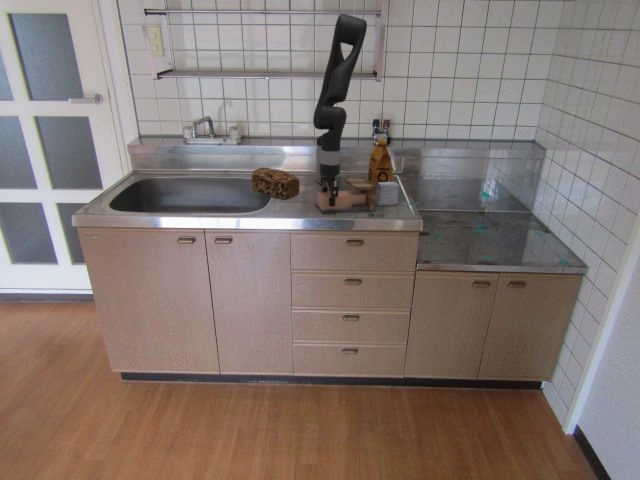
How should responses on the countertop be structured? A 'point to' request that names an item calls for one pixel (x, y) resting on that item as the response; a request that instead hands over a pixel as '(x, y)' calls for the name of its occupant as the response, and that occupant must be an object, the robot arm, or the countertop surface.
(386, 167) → the coffee package
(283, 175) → the bread
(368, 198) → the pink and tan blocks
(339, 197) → the rectangular block
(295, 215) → the countertop surface
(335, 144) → the robot arm
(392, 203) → the medicine box
